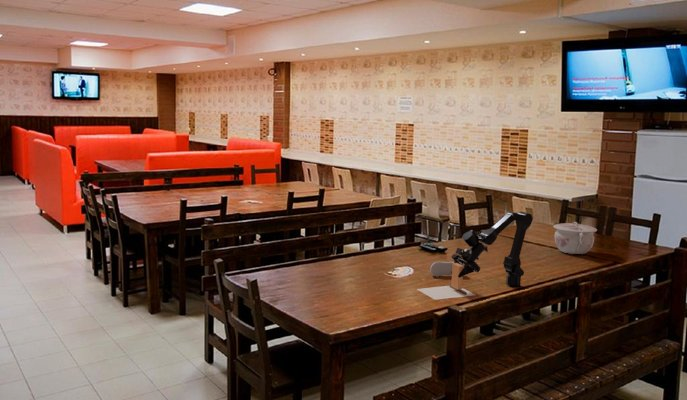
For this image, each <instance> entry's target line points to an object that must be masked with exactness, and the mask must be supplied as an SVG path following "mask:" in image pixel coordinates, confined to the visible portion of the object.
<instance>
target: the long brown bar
mask: <svg viewBox="0 0 687 400" xmlns="http://www.w3.org/2000/svg"><path fill="white" fill-rule="evenodd" d="M448 286H449V287H451V288H453V289H454V290H456V291H458V292H460V293H462V294H464V295H467V292H465V291H463V290H461V289H459V290H458V289H456V288H454V287H452V286H451V284H449V285H448Z"/></svg>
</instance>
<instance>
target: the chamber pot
mask: <svg viewBox="0 0 687 400" xmlns="http://www.w3.org/2000/svg"><path fill="white" fill-rule="evenodd" d="M552 227H553V228H554V229H556V231H555V232H554V242H555V244H556V247H557V249H558V250H559V251H560V252H562V253H563V254H567V253H568V255H573V254H581V255H585V254H587V253H588V252H589V251H590V250H591V248H593V245H594V243H595V236H594V233H596V232H597V231H598V229H597V228H596V227H593V226H591V225H586V224H581V223H578V222H577V221H573V222H572V223H571V222H570V223H567V222H566V223H565V222H564V223H563V222H562V223H556V224H554V225H553V226H552Z"/></svg>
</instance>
